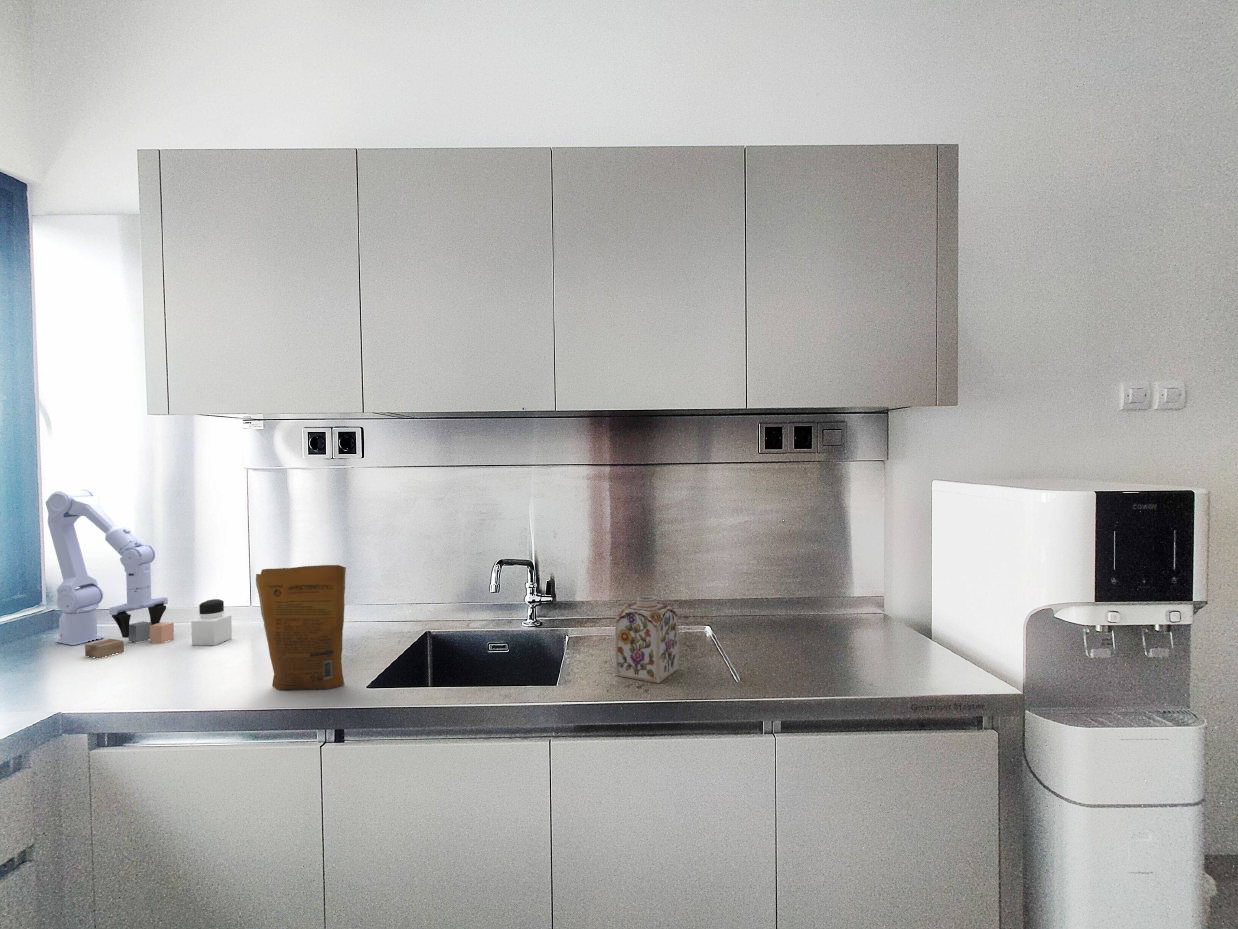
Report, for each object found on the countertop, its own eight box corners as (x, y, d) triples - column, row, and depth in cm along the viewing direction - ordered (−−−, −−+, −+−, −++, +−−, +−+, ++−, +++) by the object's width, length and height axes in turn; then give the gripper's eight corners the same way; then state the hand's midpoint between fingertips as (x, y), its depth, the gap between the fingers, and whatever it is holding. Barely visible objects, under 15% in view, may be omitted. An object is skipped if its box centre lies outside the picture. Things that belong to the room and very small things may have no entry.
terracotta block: (150, 643, 185) (149, 625, 185) (162, 639, 189) (161, 622, 189) (161, 643, 184) (161, 626, 184) (173, 639, 188) (173, 622, 188)
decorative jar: (659, 684, 145) (657, 605, 144) (614, 676, 150) (613, 600, 150) (680, 669, 155) (679, 594, 155) (637, 662, 161) (636, 590, 160)
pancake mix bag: (342, 692, 143) (339, 566, 143) (256, 694, 143) (253, 568, 142) (354, 681, 150) (351, 561, 149) (271, 683, 149) (269, 563, 149)
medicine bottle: (232, 638, 188) (231, 597, 188) (214, 645, 181) (213, 603, 181) (209, 638, 189) (208, 597, 189) (191, 645, 182) (190, 603, 182)
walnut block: (85, 657, 173) (85, 644, 173) (110, 651, 178) (109, 638, 178) (99, 659, 170) (98, 646, 170) (123, 653, 176) (123, 640, 176)
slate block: (128, 641, 187) (128, 624, 187) (143, 638, 190) (143, 621, 190) (136, 643, 185) (136, 625, 185) (151, 639, 189) (151, 622, 189)
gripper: (118, 593, 179) (120, 641, 179) (173, 583, 192) (174, 628, 193) (104, 591, 182) (105, 639, 182) (159, 582, 195) (160, 626, 196)
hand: (140, 633), depth 188 cm, fingers open, 7 cm apart
